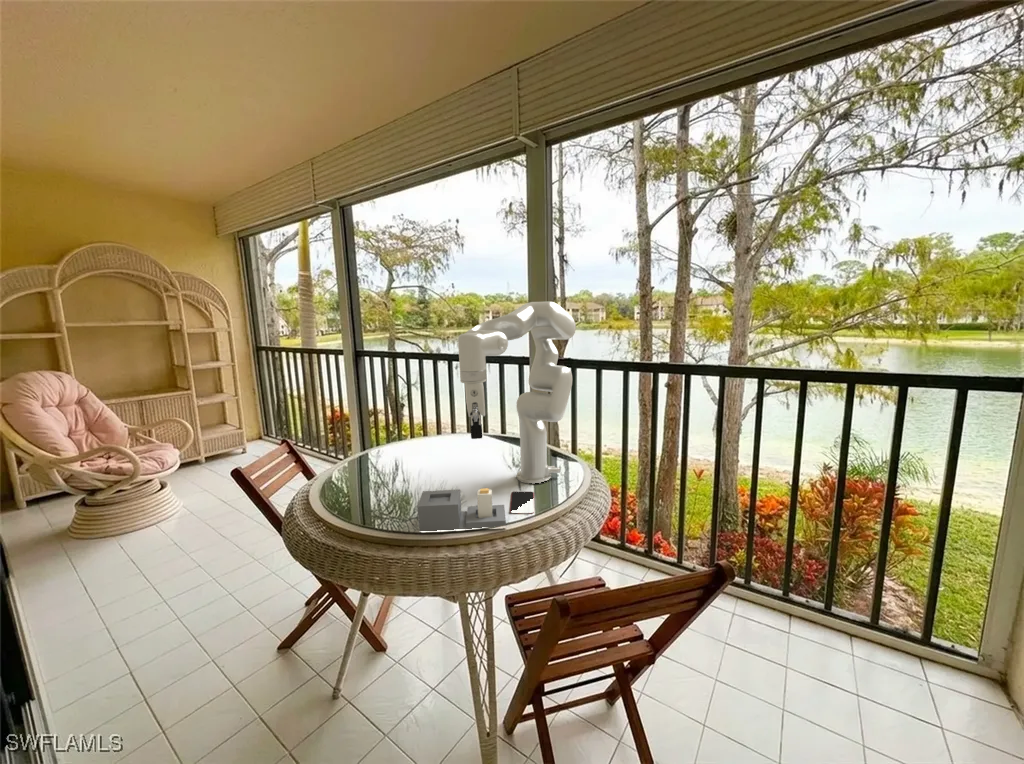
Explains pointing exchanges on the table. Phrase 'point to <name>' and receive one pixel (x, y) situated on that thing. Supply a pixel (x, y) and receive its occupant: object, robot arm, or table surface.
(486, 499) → the plug
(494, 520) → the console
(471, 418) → the robot arm
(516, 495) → the smartphone
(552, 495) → the table surface
